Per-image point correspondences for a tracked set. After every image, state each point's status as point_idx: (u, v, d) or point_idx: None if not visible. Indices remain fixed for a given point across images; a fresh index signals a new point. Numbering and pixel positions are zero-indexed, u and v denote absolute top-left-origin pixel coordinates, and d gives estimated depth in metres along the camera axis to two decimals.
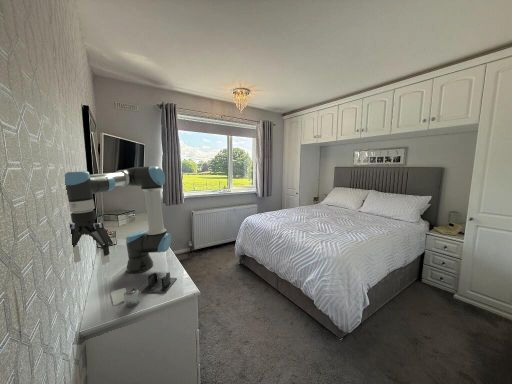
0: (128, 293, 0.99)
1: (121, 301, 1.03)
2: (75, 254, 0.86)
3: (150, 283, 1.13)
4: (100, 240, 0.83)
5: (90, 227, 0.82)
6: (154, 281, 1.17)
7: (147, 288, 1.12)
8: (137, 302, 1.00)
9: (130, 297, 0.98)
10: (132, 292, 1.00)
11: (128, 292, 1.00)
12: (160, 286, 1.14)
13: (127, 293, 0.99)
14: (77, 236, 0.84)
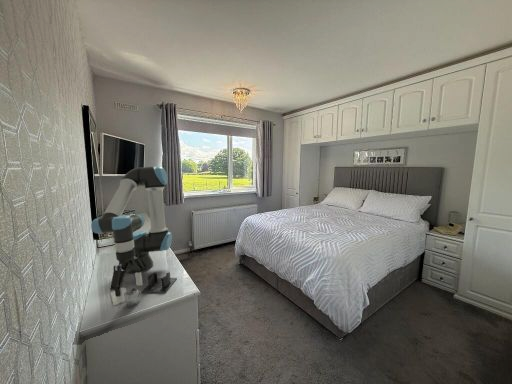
0: (128, 293, 0.99)
1: None
2: (137, 278, 1.06)
3: (150, 283, 1.13)
4: None
5: None
6: (154, 281, 1.17)
7: (147, 288, 1.12)
8: (137, 302, 1.00)
9: (130, 297, 0.98)
10: (132, 292, 1.00)
11: (128, 292, 1.00)
12: (160, 286, 1.14)
13: (127, 293, 0.99)
14: (131, 266, 1.03)
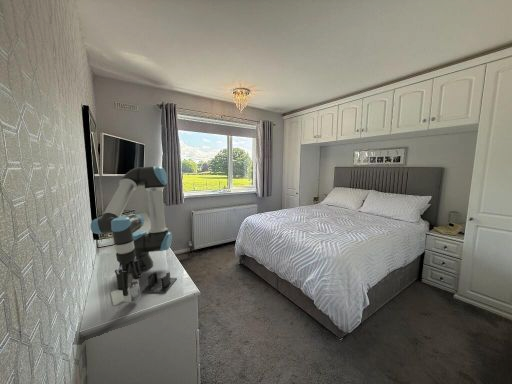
0: None
1: (121, 301, 1.03)
2: None
3: (150, 283, 1.13)
4: None
5: None
6: (154, 281, 1.17)
7: (147, 288, 1.12)
8: (137, 295, 1.01)
9: (130, 291, 0.98)
10: (132, 285, 1.00)
11: (128, 285, 1.00)
12: (160, 286, 1.14)
13: None
14: (129, 269, 1.02)
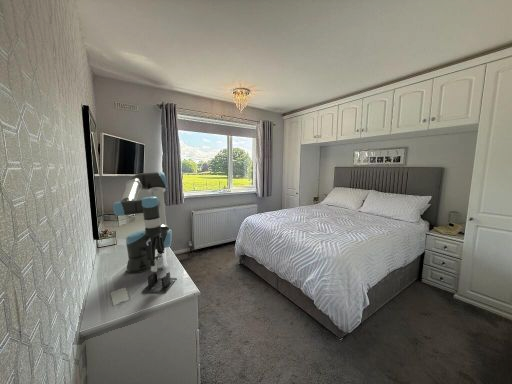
0: None
1: (121, 301, 1.03)
2: None
3: (150, 283, 1.13)
4: None
5: None
6: (154, 281, 1.17)
7: (147, 288, 1.12)
8: (162, 267, 1.13)
9: (156, 262, 1.11)
10: (158, 258, 1.13)
11: None
12: (160, 286, 1.14)
13: None
14: None
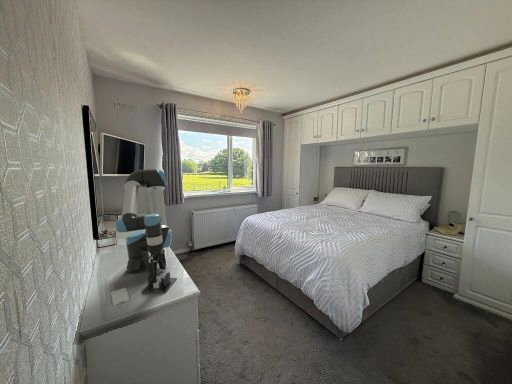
0: (157, 275, 1.13)
1: (121, 301, 1.03)
2: None
3: (150, 283, 1.13)
4: None
5: None
6: None
7: (147, 288, 1.12)
8: None
9: (158, 278, 1.12)
10: (159, 274, 1.14)
11: None
12: None
13: None
14: None
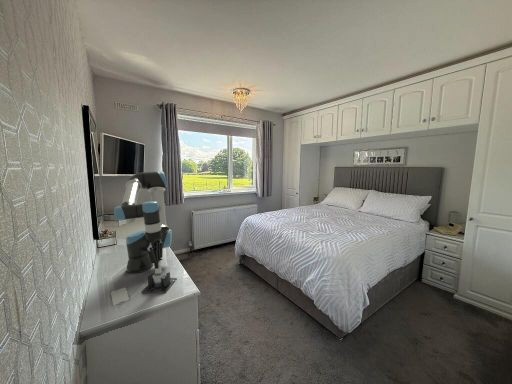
0: (156, 274, 1.13)
1: (121, 301, 1.03)
2: None
3: (150, 283, 1.13)
4: None
5: None
6: None
7: (147, 288, 1.12)
8: None
9: (158, 278, 1.12)
10: (159, 274, 1.14)
11: (156, 274, 1.14)
12: None
13: (155, 274, 1.14)
14: None
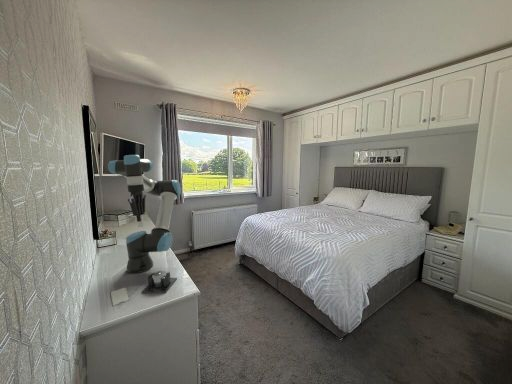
0: (156, 274, 1.13)
1: (121, 301, 1.03)
2: None
3: (150, 283, 1.13)
4: None
5: None
6: None
7: (147, 288, 1.12)
8: None
9: (157, 278, 1.12)
10: (159, 274, 1.14)
11: (155, 274, 1.14)
12: None
13: (155, 274, 1.14)
14: None
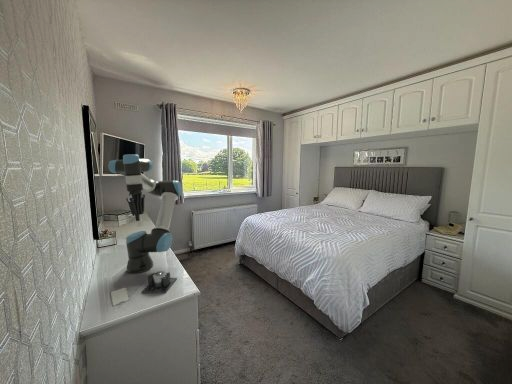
0: (157, 274, 1.14)
1: (121, 301, 1.03)
2: None
3: (150, 283, 1.13)
4: None
5: None
6: None
7: (147, 288, 1.12)
8: None
9: (158, 278, 1.12)
10: (160, 274, 1.14)
11: (157, 273, 1.15)
12: None
13: (156, 274, 1.14)
14: None
